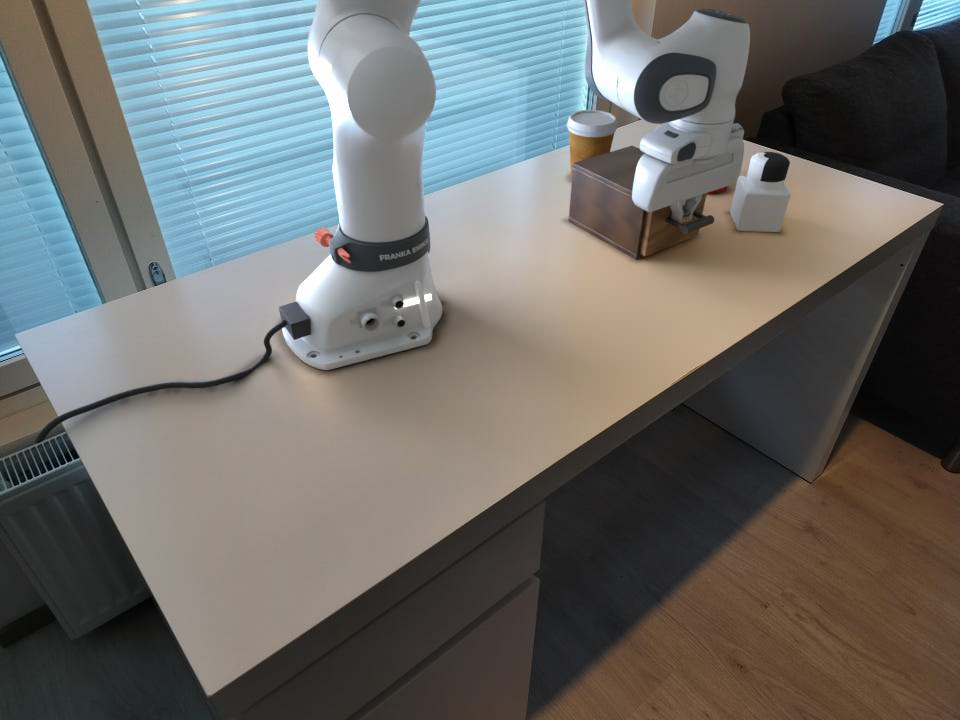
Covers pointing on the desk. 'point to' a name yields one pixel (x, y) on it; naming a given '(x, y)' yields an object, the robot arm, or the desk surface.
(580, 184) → the cabinet
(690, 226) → the drawer
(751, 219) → the medicine bottle
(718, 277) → the desk surface
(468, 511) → the desk surface
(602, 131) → the disposable coffee cup
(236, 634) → the desk surface
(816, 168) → the desk surface
